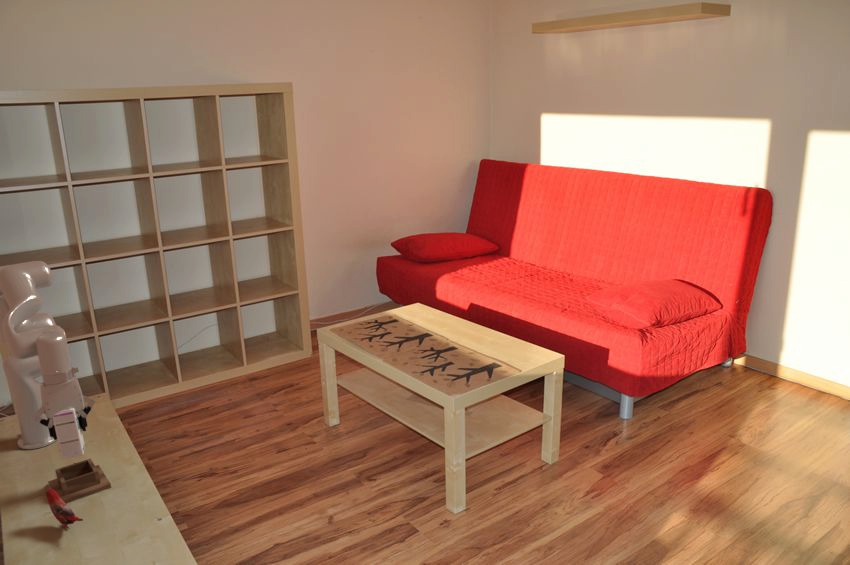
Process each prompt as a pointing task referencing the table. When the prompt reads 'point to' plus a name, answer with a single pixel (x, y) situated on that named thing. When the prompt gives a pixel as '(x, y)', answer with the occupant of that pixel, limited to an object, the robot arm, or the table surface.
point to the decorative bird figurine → (61, 509)
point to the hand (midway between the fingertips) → (69, 433)
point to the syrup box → (69, 433)
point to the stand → (79, 481)
